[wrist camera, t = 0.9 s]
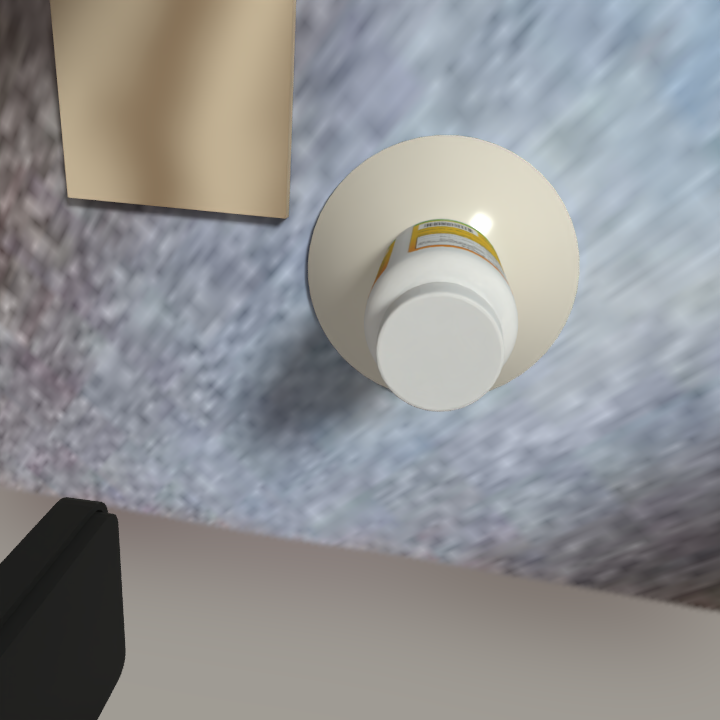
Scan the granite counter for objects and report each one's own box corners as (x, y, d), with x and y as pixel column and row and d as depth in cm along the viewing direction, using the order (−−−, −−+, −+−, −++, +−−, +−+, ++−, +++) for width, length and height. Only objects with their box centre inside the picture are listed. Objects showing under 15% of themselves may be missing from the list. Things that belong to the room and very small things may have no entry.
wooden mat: (297, -43, 25) (294, -46, 25) (288, 216, 29) (285, 218, 28) (52, -59, 26) (44, -62, 26) (75, 195, 30) (68, 197, 29)
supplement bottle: (423, 355, 30) (415, 460, 21) (356, 261, 29) (318, 331, 20) (525, 293, 29) (562, 379, 20) (458, 190, 28) (466, 233, 19)
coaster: (605, 147, 26) (606, 148, 26) (551, 411, 31) (551, 413, 31) (315, 123, 27) (314, 123, 27) (303, 382, 32) (302, 384, 32)
